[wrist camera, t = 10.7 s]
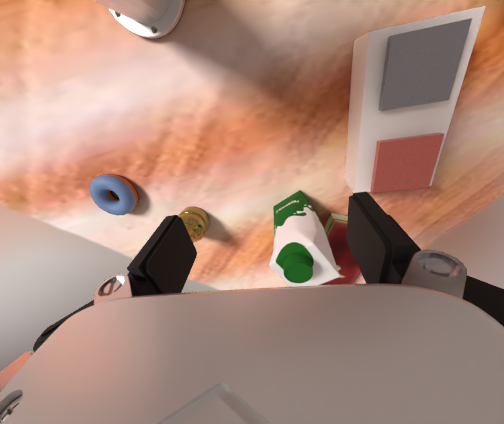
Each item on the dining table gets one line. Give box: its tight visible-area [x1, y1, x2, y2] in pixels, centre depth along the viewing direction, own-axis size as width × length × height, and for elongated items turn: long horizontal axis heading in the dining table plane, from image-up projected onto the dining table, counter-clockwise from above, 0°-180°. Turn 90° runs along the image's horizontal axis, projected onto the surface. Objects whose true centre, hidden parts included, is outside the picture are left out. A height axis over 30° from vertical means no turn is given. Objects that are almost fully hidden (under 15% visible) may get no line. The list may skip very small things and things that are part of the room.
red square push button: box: [370, 133, 444, 193], centre depth 33 cm, size 8×8×6 cm
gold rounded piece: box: [179, 207, 210, 242], centre depth 45 cm, size 7×7×10 cm
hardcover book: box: [320, 213, 361, 285], centre depth 49 cm, size 12×21×4 cm, turn 170°
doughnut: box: [90, 174, 138, 215], centre depth 46 cm, size 10×10×5 cm
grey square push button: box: [378, 18, 472, 111], centre depth 28 cm, size 8×8×6 cm
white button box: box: [344, 6, 486, 193], centre depth 32 cm, size 22×12×6 cm, turn 10°
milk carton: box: [270, 191, 340, 287], centre depth 37 cm, size 9×9×20 cm
